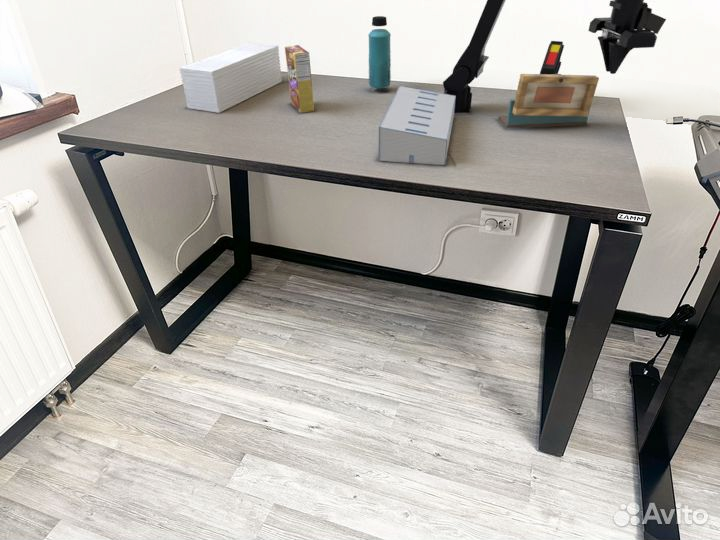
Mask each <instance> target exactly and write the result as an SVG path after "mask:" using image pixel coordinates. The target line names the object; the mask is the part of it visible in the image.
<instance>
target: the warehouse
mask: <svg viewBox="0 0 720 540" xmlns="http://www.w3.org/2000/svg"><path fill="white" fill-rule="evenodd" d="M455 100H456V96H454V95H448V94H444V92H443V93H442V92H437V91H433V90H432V91H431V90H426V89H420V88H414V87H408V86H404V85H399V86H398V88H397V90H396V92H395V93H394V96H393V98H392V99H391V102H390V103H389V106H388V107H387V110H386V112H385V113H384V116H383V118H382V120H381V121H380V124H379V126H378V162H393V163H406V164H407V163H409V164H410V163H411V164H421V165H422V164H423V165H434V166H435V165H437V166H446V162H447V157H448V152H449V145H450V140H451V133H452V129H453V123H454V117H455V113H454V111H455Z"/></svg>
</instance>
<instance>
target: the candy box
mask: <svg viewBox="0 0 720 540" xmlns="http://www.w3.org/2000/svg"><path fill="white" fill-rule="evenodd" d="M284 53H285V60H286V70H287V77H288V78H287V79H288V88H289V96H290V103H291V105H292V106H293V107H294V108H295V109H296V110H297V111H298V112H299V113H300V114H303V113H309V112H314V111H315V106H314V105H315V104H314V95H313V94H314V93H313V81H312V70H311V57H310V52H309V51H307V50H306V49H305V48H303V47H302V46H300V44H295V45H288V46H284Z"/></svg>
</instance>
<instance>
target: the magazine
mask: <svg viewBox="0 0 720 540" xmlns="http://www.w3.org/2000/svg"><path fill="white" fill-rule="evenodd" d="M564 48H565V44H564V41H559V40H551V41H550V43H549V44H548V47H547V50H546V52H545V53H546V54H545V56H544V59H543V61H542V65H541V68H540V71H539V74H559V71H560V68H561V65H562V61H561V59H562V58H561V57H562V54H563V51H564Z"/></svg>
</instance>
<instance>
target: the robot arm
mask: <svg viewBox="0 0 720 540" xmlns="http://www.w3.org/2000/svg"><path fill="white" fill-rule="evenodd" d="M505 3H506V0H486V3H485V5H484V6H483V9H482V10H483V11H482V12H481V15H480V17H479V19H478V22H477V24H476V27H475V29H474V32H473V35H472V36H471V39H470V41H469V44H468V45H467V47H466V48H465V50H464V51H463V53H462V54H461V55H460V57H459V59H458V61H457V62H456V63H455V64H454V66H453V68H452V73H451V74H450V75H449V76H448V77H447V78H446V79H445V80H443V82H442V85H443V94H448V95H454V96H456V100H455V111H454V114H468V113H471V109H472V101H473V100H472V99H473V92H472V91H471V90H472V87H471V86H470V84H471V83H472V82H473V81H474V80H475V79H478V78H479V76H481V74H483V72H484V67H485V65H486V63H487V62H488V60H489V58H490V57H489V56H487V55H485V51H486V47H487V45H488V42H489V40H490V37H491V35H492V33H493V31H494V28H495V27H496V24H497V22H498V19H499V17H500V14H501V13H502V10H503V7H504V5H505ZM608 6H609V7H611V13H610V17H608V16H607V17H594V18H593V19H592V20H591V21H590V22H589V26H588V30H587V31H588V32H590V33H592V34H597V32H599V31H600V32H601V36H597V40H598V43H599V46H600V49H601V53H602V54H601V55H602V58H603V62H604V68H605V71H606V72H607V73H610V74H611V75H616V73H617V72H618V70H619V68H620V67H621V65H622V63H623V62H624V60H625V59H626V58H627V55H628V54H629V53H630V52H631V51H632V50H634V49H644V48H645V49H647V48H648V49H649V48H655V46H656V43H657V39H658V36H657V35H658V34H659V32H660V30H661V29H662V27H663V26H664V24H665V22H666V21H667V19H666V18H664V17H662V16H660V15H658V14H656V13H653V9H652V8H650V7H649V4H648V2H645V0H610V1H609V5H608Z"/></svg>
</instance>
